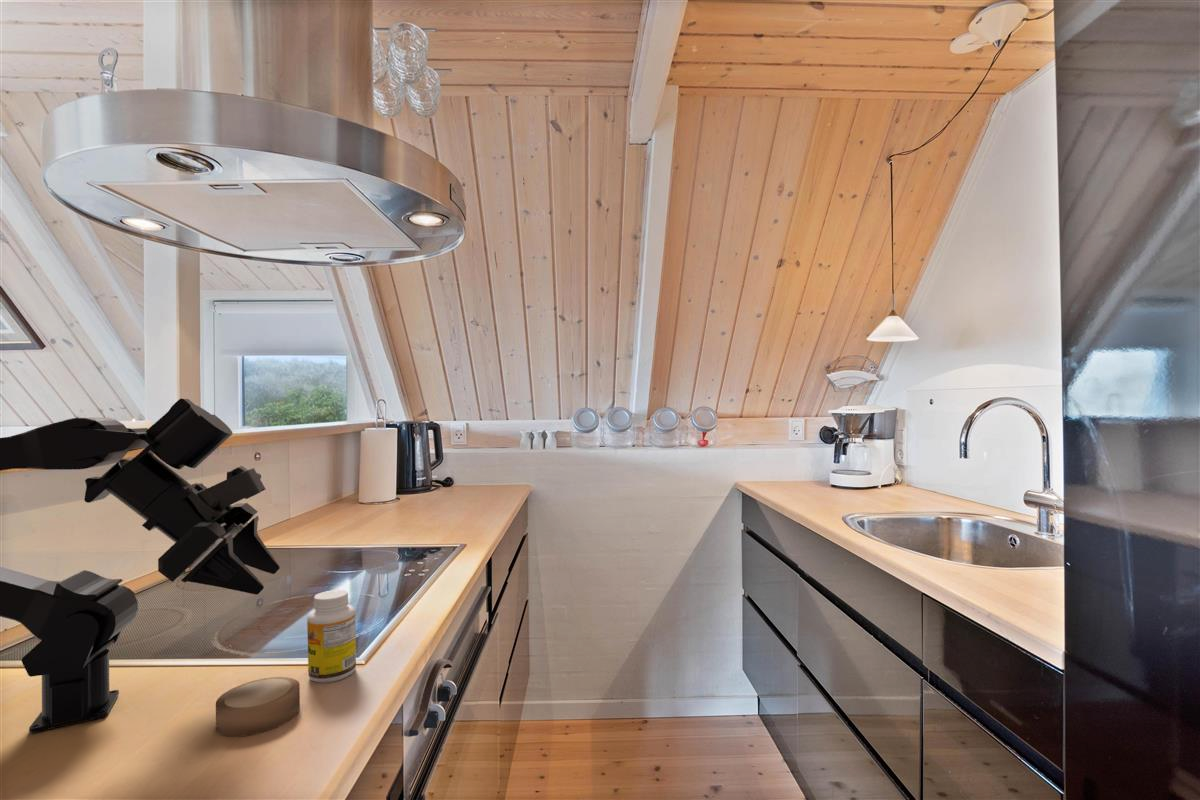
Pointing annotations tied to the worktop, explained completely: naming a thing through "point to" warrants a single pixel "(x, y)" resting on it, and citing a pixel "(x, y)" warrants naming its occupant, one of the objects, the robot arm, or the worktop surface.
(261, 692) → the walnut stand
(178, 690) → the worktop surface
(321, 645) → the supplement bottle
